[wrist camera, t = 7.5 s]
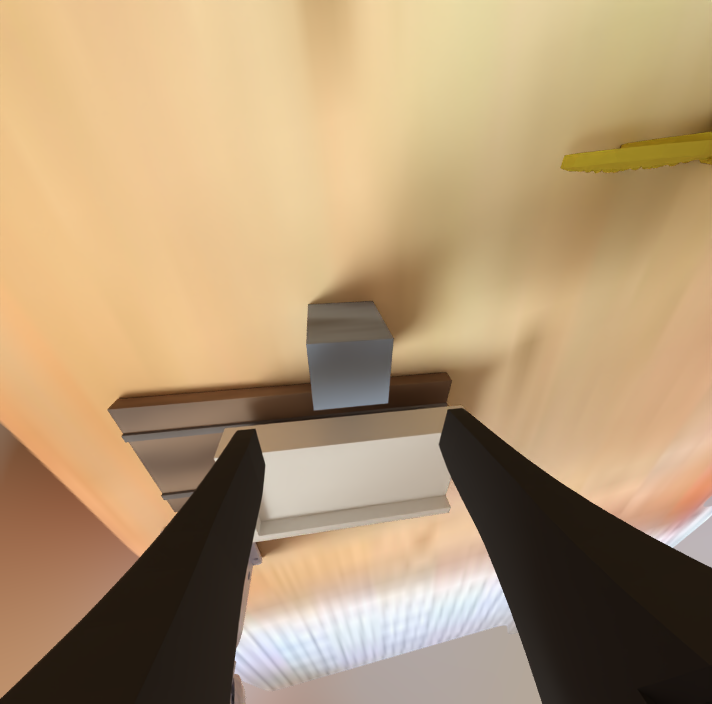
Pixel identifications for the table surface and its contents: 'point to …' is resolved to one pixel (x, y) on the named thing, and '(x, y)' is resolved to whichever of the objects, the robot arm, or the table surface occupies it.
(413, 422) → the shallow rimmed tray
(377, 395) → the block
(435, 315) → the table surface
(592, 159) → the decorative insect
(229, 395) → the track board
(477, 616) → the table surface
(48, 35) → the table surface
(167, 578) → the robot arm
